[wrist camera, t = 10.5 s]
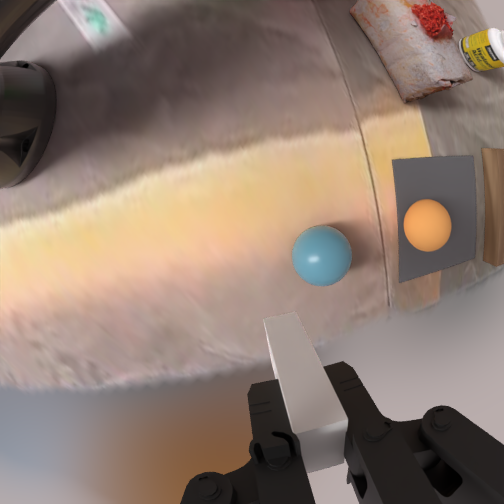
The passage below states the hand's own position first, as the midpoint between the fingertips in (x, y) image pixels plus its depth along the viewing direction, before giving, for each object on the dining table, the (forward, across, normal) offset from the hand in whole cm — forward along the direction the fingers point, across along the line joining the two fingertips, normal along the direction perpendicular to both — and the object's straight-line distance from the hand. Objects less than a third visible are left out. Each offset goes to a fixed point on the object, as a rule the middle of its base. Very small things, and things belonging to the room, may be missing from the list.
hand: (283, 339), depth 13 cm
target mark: (+15, +23, 0) cm, 28 cm away
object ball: (+13, +18, 0) cm, 22 cm away
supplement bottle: (+16, +35, +22) cm, 44 cm away
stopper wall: (+15, +34, 0) cm, 37 cm away
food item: (+16, +20, +20) cm, 32 cm away
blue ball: (+13, +6, -1) cm, 14 cm away
